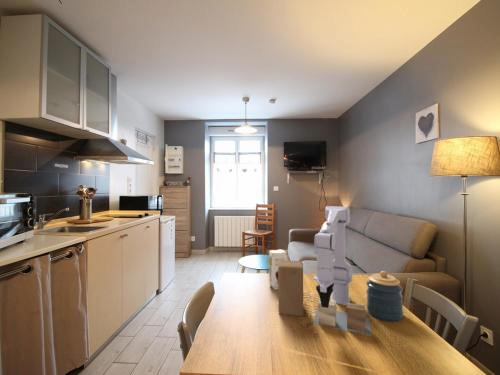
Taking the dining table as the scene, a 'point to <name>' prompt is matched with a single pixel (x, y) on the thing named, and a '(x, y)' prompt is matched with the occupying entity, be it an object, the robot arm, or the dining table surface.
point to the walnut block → (356, 317)
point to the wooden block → (290, 288)
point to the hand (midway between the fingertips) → (325, 304)
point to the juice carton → (275, 266)
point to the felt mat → (344, 323)
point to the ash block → (327, 314)
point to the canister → (384, 297)
